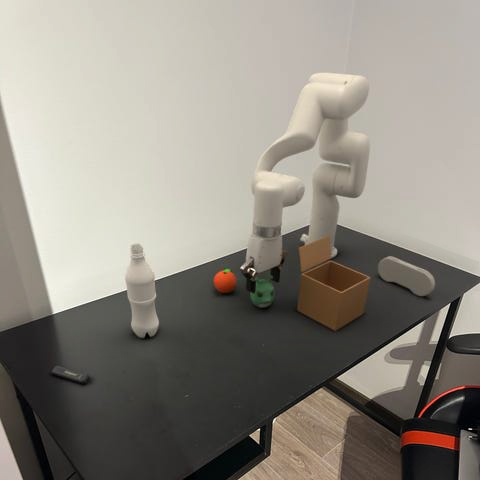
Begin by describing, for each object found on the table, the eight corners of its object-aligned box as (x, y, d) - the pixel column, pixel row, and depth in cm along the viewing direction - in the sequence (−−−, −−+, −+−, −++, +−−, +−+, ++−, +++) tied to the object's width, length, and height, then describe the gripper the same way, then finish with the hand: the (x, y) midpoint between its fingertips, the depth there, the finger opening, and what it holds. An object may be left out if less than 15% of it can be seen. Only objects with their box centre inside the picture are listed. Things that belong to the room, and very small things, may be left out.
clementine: (221, 282, 144) (221, 262, 141) (241, 287, 142) (241, 267, 138) (209, 294, 138) (209, 273, 134) (230, 299, 136) (230, 278, 132)
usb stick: (50, 375, 105) (49, 370, 104) (58, 368, 107) (57, 363, 106) (84, 386, 102) (83, 380, 102) (91, 379, 104) (90, 373, 104)
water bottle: (164, 328, 122) (157, 242, 109) (151, 342, 117) (142, 254, 103) (140, 322, 124) (130, 238, 110) (127, 337, 119) (114, 249, 105)
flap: (301, 271, 125) (300, 271, 125) (331, 258, 132) (330, 258, 133) (299, 248, 122) (298, 247, 122) (329, 235, 130) (328, 235, 130)
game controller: (431, 298, 140) (439, 274, 135) (427, 300, 138) (434, 276, 134) (379, 274, 152) (384, 252, 147) (375, 276, 151) (380, 253, 146)
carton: (296, 310, 132) (300, 274, 125) (325, 295, 139) (330, 260, 133) (335, 331, 123) (341, 293, 117) (363, 313, 131) (370, 277, 125)
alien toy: (255, 315, 129) (257, 284, 123) (246, 301, 135) (247, 272, 129) (278, 311, 131) (280, 281, 125) (268, 298, 137) (270, 269, 131)
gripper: (278, 218, 127) (274, 272, 136) (233, 232, 117) (231, 290, 126) (298, 225, 122) (292, 281, 132) (253, 241, 112) (250, 301, 121)
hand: (262, 286), depth 129 cm, fingers open, 9 cm apart
